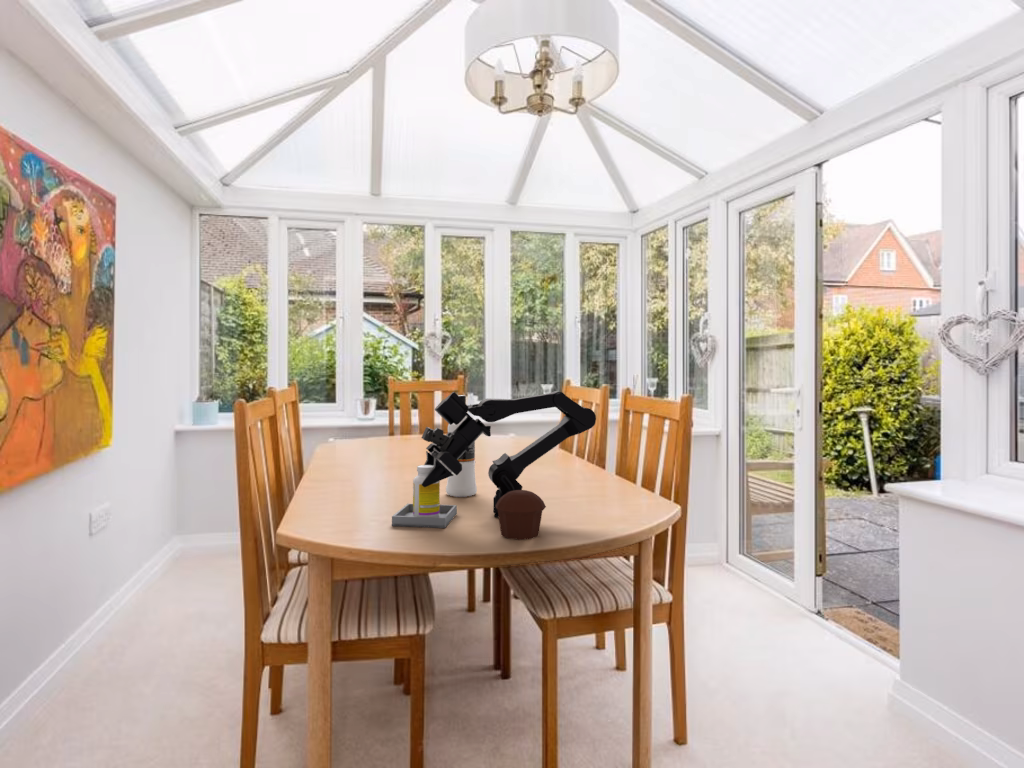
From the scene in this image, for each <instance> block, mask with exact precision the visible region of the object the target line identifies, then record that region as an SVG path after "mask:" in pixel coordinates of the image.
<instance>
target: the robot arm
mask: <svg viewBox="0 0 1024 768" xmlns="http://www.w3.org/2000/svg"><path fill="white" fill-rule="evenodd" d="M458 395H459V394H457V393H456V392H455V391H453V392H451V393H450V394H449V395H448V396H446V397H445V398H444V399H442V400H441V401H440V402H439V403H438V404H437V405H436V407H435V408H434V412H436V413H437V414H438V415H439V416H440V417H441V418H442V419H443V420H444V421H445V422H447V424H448V425H449V424H450V425H451V424H453V423H454V424H455V425H457V424H458V423H460V422H461V421H462V420H463V419H464V417H465V416H466V417H467V418H466V419H465V420H464V421H463V422H462V423H461V424H460V425H459V426H458V427H457V428H456V429H455V430H454V431H453V432H448V431H447V433H446V434H444V430H443V429H441V428H438V427H436V428H435V429H432V428H430V427H428V426H426V427H425V429H424V431H423V433H422V436H421V439H422V440H424V441H426V442H427V443H430V444H428V446H427V447H426V448H425V449H426V451H425V454H426V460H425V462H424V464H423V465H434V467H433V468H432V470H431V471H430V472H429V474H428V475H427V477H426V478H425V480H424V481H423V483H422V486H423V487H427V486H429V485H431V484H434V483H436V482H438V481H440V482H441V481H443V480H445V479H448V477H450V476H453V474H452V472H453V473H454V474H455V475H458V474H459V473H460V472H461V471H462V464H461V463H460V462H459V461H458V459H459V458H460V457H461V455H462V454H463V453H464V452H465V451H467V452H468V451H469V450H470V448H469V447H470V446H471V445H472V444H473V443H474V442H475V443H476V440H478V438H479V437H480V436H481V435H482V434H484V435H485V437H486V436H487V437H491V435H492V434H491V429H492V426H491V425H486V424H484V422H482V420H483V421H485V422H487V423H494V422H495V423H496V422H497V421H500V420H503V419H505V418H508V417H510V416H513V415H516V414H522V413H526V412H527V413H528V412H533V411H539V410H544V409H545V410H546V409H551V408H557V410H558V411H560V412H561V413H562V414H563V415H564V416H563V418H562V419H561V420H560V422H559V423H558V424H557V425H556V426H554V427H553V428H552V429H550V430H548V431H547V432H546V433H544V434H543V435H542V436H540V437H539V438H537V439H536V440H535V441H533V442H531V443H530V444H529V445H527V446H526V447H524V448H523V449H521V450H520V451H519V452H517V453H516V454H514V455H508V454H507V453H506V452H505V453H503V454H502V455H501V456H500V457H499V458H498V459H494V460H492V464H491V465H490V466H489V467H488V473H487V474H488V478H489V479H490V481H491V482H492V483H493V484H494V485H495V487H496V488H497V489H496V490H495V495H494V497H493V500H492V501H493V503H492V504H493V506H492V507H493V514H494V515H493V516H495V518H499V516H498V510H497V508H496V507H495V505H496V504H497V502H498V500H499V499H500V498H501V497H502V496H503V495H505V494H506V493H508V492H510V491H514V490H523V485H522V484H520V482H519V481H518V480H517V479H518V478H519V477H520V476H521V474H522V473H523V472H524V471H525V469H526V468H527V467H529V466H531V464H533V463H534V462H536V461H537V460H539V459H540V458H541V457H543V456H544V455H546V454H548V452H550V451H551V450H553V449H554V448H555V447H557V446H558V445H560V444H561V443H563V442H564V441H565V440H567V439H569V438H571V437H573V436H577V435H580V434H582V433H584V432H587V431H588V430H590V429H592V428H594V426H595V425H596V421H597V416H596V414H595V413H596V412H595V411H593V409H591V408H590V407H589V408H588V407H585V406H582V405H580V404H578V403H577V402H576V401H575V400H573V399H571V398H570V397H569V396H567V395H566V394H565V393H564V392H563V391H558V390H556V391H555V390H554V391H552V392H548V393H542V394H536V395H535V394H534V395H530V396H523V397H517V398H510V399H509V398H484V399H482V400H480V401H479V403H475V404H471V403H470V404H469V405H468V404H467V403H466V404H465V403H464V402H463V401H462V400H461V399H460V398H459V396H458ZM469 413H470V414H471V415H473V416H477V417H479V418H480V419H479V418H475V419H474V418H473V416H471V415H470V414H469Z"/></svg>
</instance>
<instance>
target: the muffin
mask: <svg viewBox="0 0 1024 768" xmlns="http://www.w3.org/2000/svg"><path fill="white" fill-rule="evenodd" d="M495 507H496V508H497V510H498V516H499V517H498V522H499V527H500V536H501V535H502V537H504V538H506V539H508V540H516V541H517V540H518V541H525V540H532V539H535V538H537V537H539V535H540V534H539V533H540V529H541V521H542V515H543V511H544V510H545V508H547V506H546V504H545V502H544V500H543V499H542V498H541V497H540V496H539V495H538V494H536V493H535V492H533V491H530V490H525V489H522V490H514V491H510V492H508V493H506V494H505V495H503V496H502V497H501V498H500V499H499V500H498V502H497V504H496V505H495Z"/></svg>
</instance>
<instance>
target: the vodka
mask: <svg viewBox="0 0 1024 768" xmlns="http://www.w3.org/2000/svg"><path fill="white" fill-rule="evenodd" d="M457 395H458V396H459V398H460V399H461V400H462V401H463V402H464V403H465V404H466V405H467V403H466V402H467V401H466V400H467V396H466V394H457ZM466 418H467V417H466V416H465V417H464V419H463V420H462V421H461V422H460V423H458V424H457V425H455V424H454V423H453V424H451V425H450V424H449V423H448V424H447V433H448V432H453V431H454V430H455V429H456V428H457V427H458V426H459V425H460V424H461V423H462V422H463V421H464V420H465V419H466ZM475 445H476V441H475V442H474V443H473V444H472V445H471V446H470V447H469V448H470V450H469V451H468V452H467V451H465V452H464V453H463V454H462V455H461V457H460V458H459V459H458V461H459V462H460V463H461V464H462V471H461V472H460V473H459V474H458V475H455V474H454V473H453V472H452V474H453V476H450V477H448V478H446V479H447V480H446V487H445V493H446V494H447V495H448V496H449V495H450V496H449V497H452V496H454V497H453V498H468V497H467V496H469V497H473V496H474V495H476V494H477V491H478V487H477V482H476V453H475V452H476V446H475ZM472 495H473V496H472Z"/></svg>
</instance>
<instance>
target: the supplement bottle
mask: <svg viewBox="0 0 1024 768" xmlns="http://www.w3.org/2000/svg"><path fill="white" fill-rule="evenodd" d="M433 467H434V465H424V464H421V465H418V466H416V471H417V475H416V476H415V477H413V479H412V480H413V481H412V489H413V490H412V504H413V516H415V517H438V516H439V512H440V505H441V504H440V499H441V498H440V496H441V495H440V493H441V492H440V490H441V489H440V487H441V486H440V485H441V483H440V482H441V480H440V481H438V482H436V483H434V484H431V485H429V486H427V487H423V486H422V483H423V481H424V480H425V478H426V477H427V475H428V474H429V472H430V471H431V470H432V468H433Z"/></svg>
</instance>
